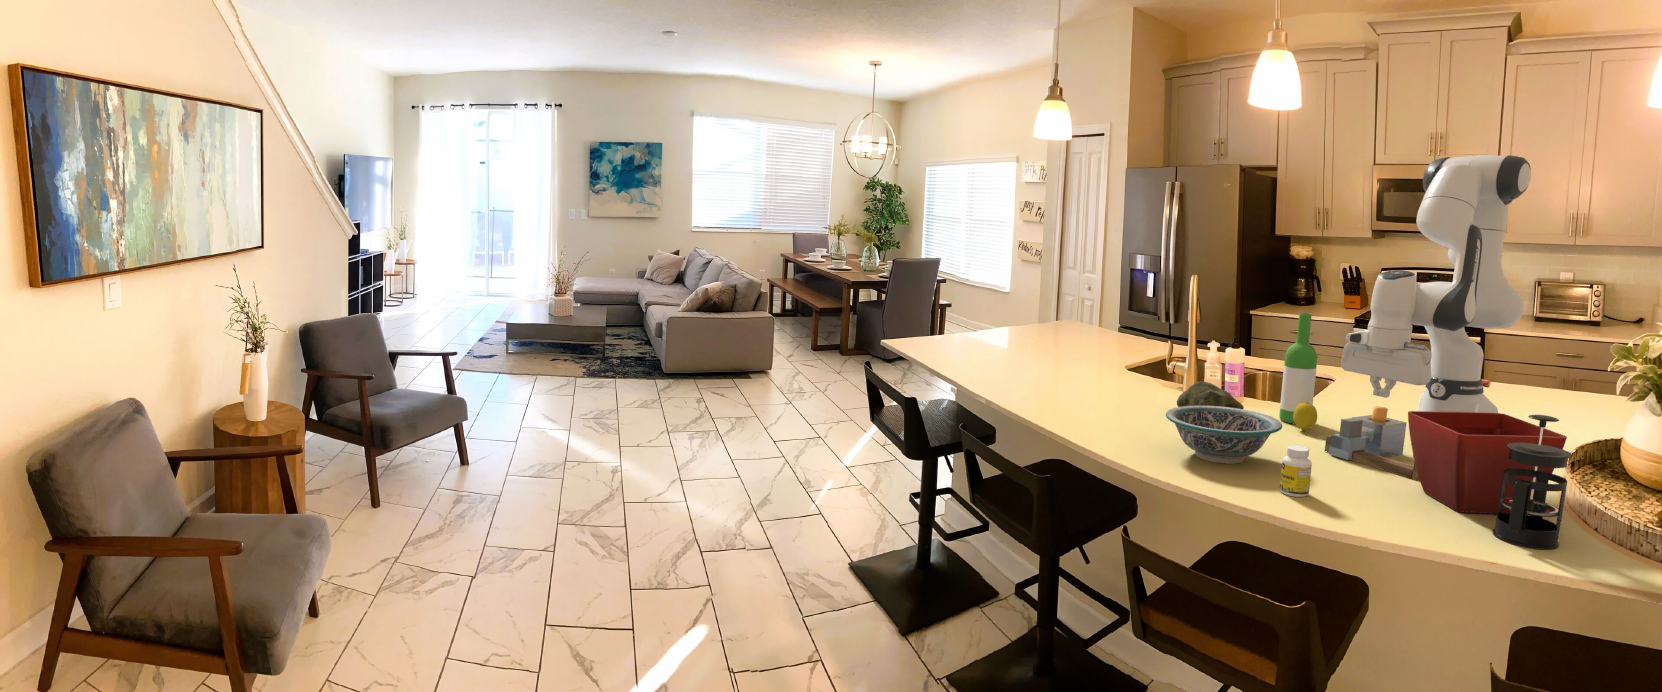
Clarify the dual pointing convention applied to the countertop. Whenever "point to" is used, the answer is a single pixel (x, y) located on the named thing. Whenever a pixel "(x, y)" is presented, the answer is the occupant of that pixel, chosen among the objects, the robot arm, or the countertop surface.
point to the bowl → (1222, 431)
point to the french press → (1526, 513)
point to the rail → (1381, 462)
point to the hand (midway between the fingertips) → (1380, 396)
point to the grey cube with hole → (1384, 436)
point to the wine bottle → (1298, 371)
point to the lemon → (1305, 416)
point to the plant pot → (1471, 455)
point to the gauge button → (1379, 414)
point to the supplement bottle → (1296, 472)
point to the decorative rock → (1207, 396)
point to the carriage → (1348, 439)
